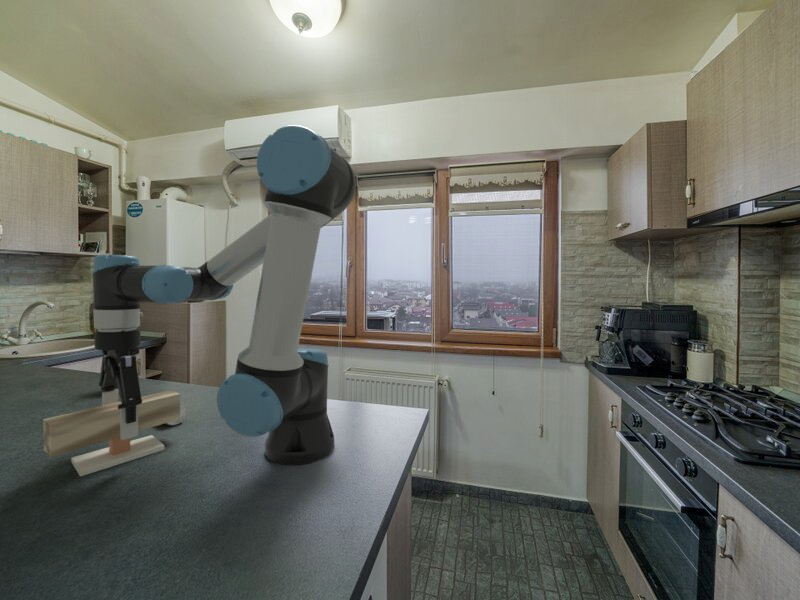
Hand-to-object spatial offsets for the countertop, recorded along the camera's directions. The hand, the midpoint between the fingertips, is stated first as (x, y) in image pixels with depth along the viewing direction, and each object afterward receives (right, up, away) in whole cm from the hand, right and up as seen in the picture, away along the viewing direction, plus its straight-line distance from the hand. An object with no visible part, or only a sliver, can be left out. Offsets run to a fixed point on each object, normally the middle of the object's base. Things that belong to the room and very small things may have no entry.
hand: (119, 428), depth 74 cm
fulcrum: (0, -6, 0) cm, 6 cm away
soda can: (+2, -3, +16) cm, 16 cm away
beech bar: (0, -1, 0) cm, 1 cm away
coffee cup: (-33, -3, +42) cm, 54 cm away
